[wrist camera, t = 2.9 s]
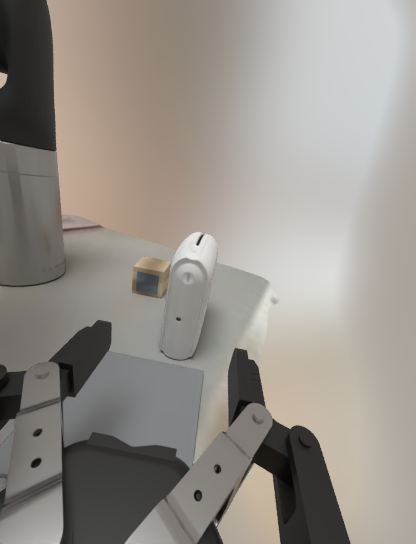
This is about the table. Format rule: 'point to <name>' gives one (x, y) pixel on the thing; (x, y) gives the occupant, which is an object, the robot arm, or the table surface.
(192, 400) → the felt pad
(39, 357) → the table surface
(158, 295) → the wooden block
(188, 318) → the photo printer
